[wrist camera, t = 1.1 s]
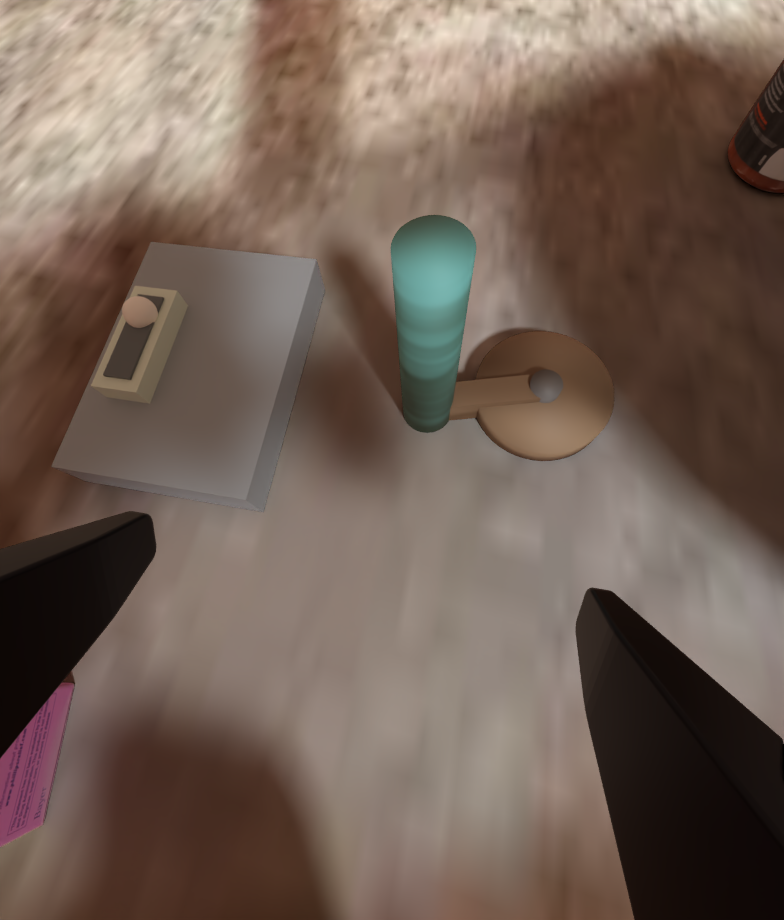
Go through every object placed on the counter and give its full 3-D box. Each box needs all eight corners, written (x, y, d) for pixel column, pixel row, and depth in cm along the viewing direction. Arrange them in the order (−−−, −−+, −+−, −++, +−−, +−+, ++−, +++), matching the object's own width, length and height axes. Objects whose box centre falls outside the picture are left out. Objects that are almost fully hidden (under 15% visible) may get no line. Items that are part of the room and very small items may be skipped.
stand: (263, 512, 23) (226, 486, 19) (86, 481, 25) (11, 450, 20) (325, 289, 28) (306, 225, 23) (172, 272, 29) (127, 208, 24)
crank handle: (602, 470, 23) (764, 338, 12) (397, 439, 24) (379, 295, 14) (607, 352, 25) (747, 152, 15) (418, 329, 27) (417, 128, 16)
